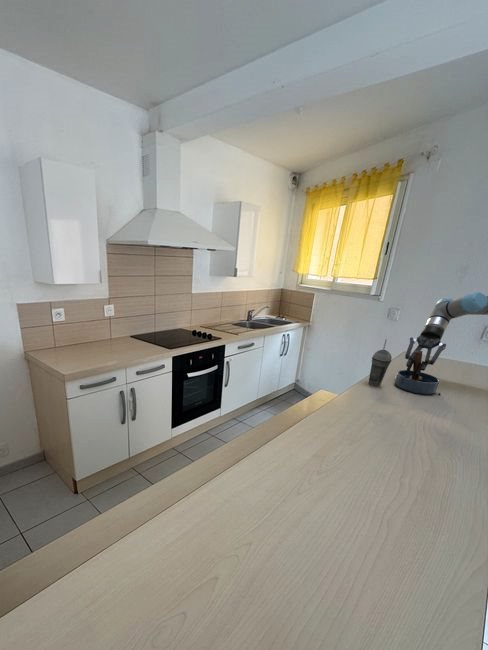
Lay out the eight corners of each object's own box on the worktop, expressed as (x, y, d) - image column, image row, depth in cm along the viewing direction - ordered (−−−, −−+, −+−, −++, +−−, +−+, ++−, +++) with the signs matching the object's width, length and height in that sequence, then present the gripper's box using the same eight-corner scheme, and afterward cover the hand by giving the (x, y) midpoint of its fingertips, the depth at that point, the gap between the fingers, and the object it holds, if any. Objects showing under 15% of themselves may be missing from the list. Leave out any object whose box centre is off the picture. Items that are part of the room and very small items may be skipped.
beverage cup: (368, 386, 138) (381, 341, 130) (362, 380, 145) (374, 337, 137) (386, 388, 137) (400, 342, 129) (379, 382, 144) (393, 338, 136)
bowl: (438, 389, 139) (443, 377, 137) (431, 398, 129) (436, 386, 127) (399, 378, 149) (402, 367, 147) (389, 386, 139) (393, 375, 137)
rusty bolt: (422, 382, 140) (427, 350, 134) (419, 387, 137) (424, 354, 131) (409, 380, 143) (413, 348, 137) (406, 384, 140) (410, 352, 134)
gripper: (455, 339, 137) (433, 384, 133) (412, 331, 148) (390, 373, 143) (458, 328, 131) (435, 375, 127) (412, 321, 142) (390, 364, 138)
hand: (411, 374), depth 135 cm, fingers closed on rusty bolt, 3 cm apart
